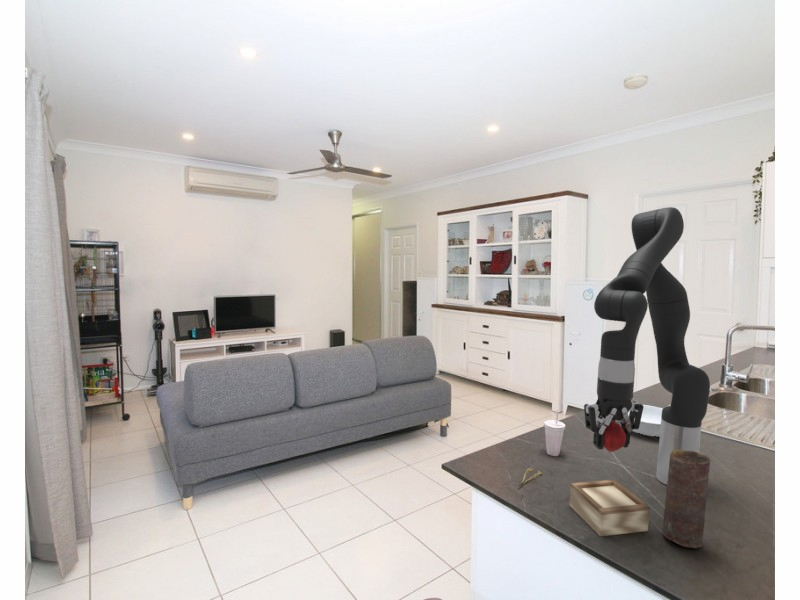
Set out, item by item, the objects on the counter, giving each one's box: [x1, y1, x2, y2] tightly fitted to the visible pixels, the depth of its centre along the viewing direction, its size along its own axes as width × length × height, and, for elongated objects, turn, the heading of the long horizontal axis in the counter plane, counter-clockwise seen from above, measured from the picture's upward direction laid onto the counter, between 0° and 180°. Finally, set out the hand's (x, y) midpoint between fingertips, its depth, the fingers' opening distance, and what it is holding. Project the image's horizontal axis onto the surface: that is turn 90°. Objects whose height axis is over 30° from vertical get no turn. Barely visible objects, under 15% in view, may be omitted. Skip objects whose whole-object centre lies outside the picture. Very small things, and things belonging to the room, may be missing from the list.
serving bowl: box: [628, 404, 664, 438], centre depth 154 cm, size 21×21×7 cm
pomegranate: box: [603, 420, 626, 453], centre depth 101 cm, size 6×6×8 cm
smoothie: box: [543, 410, 566, 457], centre depth 135 cm, size 6×6×14 cm
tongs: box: [517, 467, 543, 490], centre depth 119 cm, size 4×13×2 cm, turn 146°
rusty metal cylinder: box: [662, 449, 711, 549], centre depth 93 cm, size 8×7×20 cm
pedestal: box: [569, 479, 651, 537], centre depth 102 cm, size 12×12×6 cm
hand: (611, 446), depth 101 cm, fingers closed on pomegranate, 5 cm apart
